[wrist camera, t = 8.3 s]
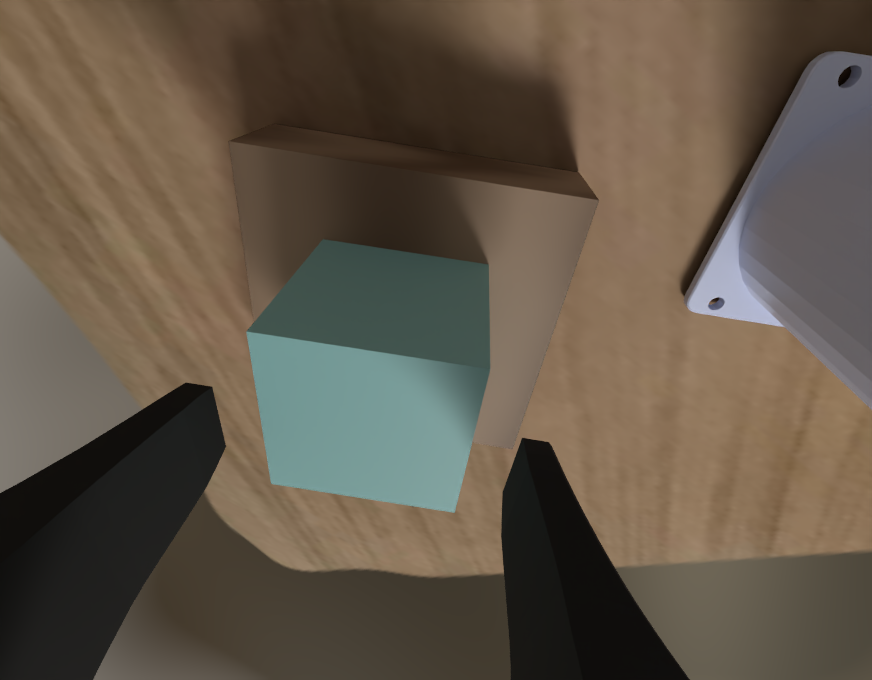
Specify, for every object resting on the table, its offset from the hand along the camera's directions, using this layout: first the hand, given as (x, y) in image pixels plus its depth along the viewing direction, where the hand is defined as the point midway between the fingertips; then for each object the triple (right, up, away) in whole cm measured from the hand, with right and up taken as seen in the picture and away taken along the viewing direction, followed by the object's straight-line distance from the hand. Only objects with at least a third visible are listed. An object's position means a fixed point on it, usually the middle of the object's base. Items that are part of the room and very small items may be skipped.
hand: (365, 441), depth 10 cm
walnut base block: (+1, +5, +7) cm, 8 cm away
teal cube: (0, +3, +4) cm, 5 cm away
